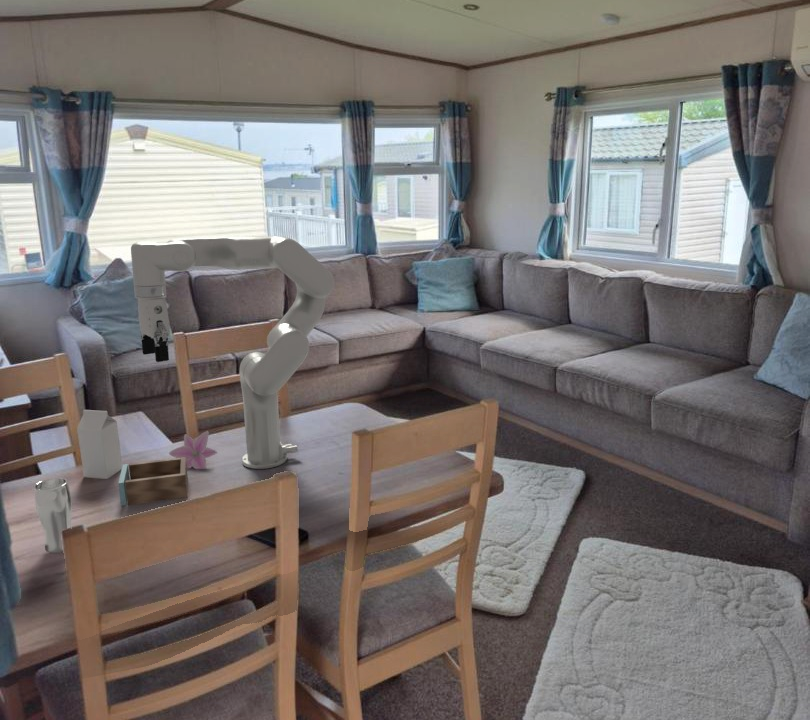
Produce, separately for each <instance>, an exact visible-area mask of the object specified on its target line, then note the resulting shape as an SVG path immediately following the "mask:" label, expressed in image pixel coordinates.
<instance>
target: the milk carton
mask: <svg viewBox="0 0 810 720" xmlns="http://www.w3.org/2000/svg"><path fill="white" fill-rule="evenodd" d="M82 412H83V414H82V416H81V419H80V421H79V422H78V426H77V427H76V430H77V431H76V432H77V437H78V443H79V444H78V445H79V451H80V457H81V465H82V472H83V477H84V478H91V479H103V480H107V479H110V478H111V477H112V476H114V475H116V474H117V473H118V472H121V470H122V466H123V460H122V452H121V445H120V437H119V436H120V435H119V429H118V421H117V420H116V419H114V418H113V417H112V416H110V415H109V414H108V411H107V410H91V409H83V411H82Z"/></svg>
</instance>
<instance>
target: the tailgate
mask: <svg viewBox="0 0 810 720" xmlns="http://www.w3.org/2000/svg"><path fill="white" fill-rule="evenodd" d="M125 480H130V472H129V463H126V464H124V463H122V469H121V470H120V475H119V479H118V483H117V484H118V491H119V497H120V504H121V505H120V506H121V507H122V506H128V502H127V494H126V486H125Z"/></svg>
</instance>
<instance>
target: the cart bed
mask: <svg viewBox="0 0 810 720" xmlns="http://www.w3.org/2000/svg"><path fill="white" fill-rule="evenodd" d="M128 469H129V477H130V480H125V486H126V494H127V506H130V505H131V506H132V505H139V504H140V505H141V504H146V503H153V502H155V503H156V502H163V501H169V500H175V499H177V500H178V499H184V498H188V497H189V496H188V494H189V491H188V488H189V487H188V486H189V484H188V483H189V479H188V478H189V477H188V468H187V466H186V457H180V458H175V457H173V458H166V459H165V458H163V459H156V460H149V461H139V462H132V463H131V462H129V463H128Z"/></svg>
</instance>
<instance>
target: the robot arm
mask: <svg viewBox="0 0 810 720" xmlns="http://www.w3.org/2000/svg"><path fill="white" fill-rule="evenodd" d="M130 254H131V256H130V257H131V269H132V279H133V291H134V299H136V300H137V313H138V324H139V331H140V332H141V334H140V339H141V349H142V354H143V355H151V354H154V355H155V361H156V363H160V362H167V361H169V360H170V358H169V357H170V356H169V341H168V340H169V336H170V335H171V327H170V319H169V318H170V317H169V311H168V305H167V301H166V298H167V288H166V287H167V286H166V275H165V274H166V273H165V271H169V272H177V273H178V272H181V273H182V272H187V271H190V270H191V269H192V268H194V267H214V268H216V267H217V268H222V269H226V270H233V271H235V270H237V271H243V270H245V271H246V270H259V269H260V270H262V269H263V270H264V269H279V270H280V271H281V272H283V274H285V275H286V277H288V278H289V279H290V280H291V281H292V282H293V283H294V284H295V288H296V296H295V300H294V301H293V303H292V305H291V306H290V307H289V308H288V310H287V312H286V313H285V314H284V315H283V316H282V318H281V319H279V321H278V322H277V323H276V325H274V326H273V327H272V329H271V330H270V331H269V333H268V335H267V336H266V337H267V338H266V344H267V347H268V350H267V351H266V352H265V353H264V352H260V351H254V352H250V353H249V354H246V355H245V356H244V357H243V359H242V360H241V361H240V364H239V370H238V371H239V381H240V387H241V392H242V402H243V404H242V405H243V417H244V431H245V441H246V443H245V444H246V453H245V454H244V455H242V457H241V463H242V465H243V466H245V467H247V468H250V469H254V470H255V469H256V470H257V469H258V470H263V469H264V470H265V469H272V468H274V467H275V468H276V467H279V466H281V465H283V464H285V462H286V461H287V458H288V455H287V454H289V453H291V454H293V453H299V451H298V446H297V445H292V443H288V444H285V443H282V441H281V430H280V417H279V416H280V413H279V397H278V391H279V390H281V388H283V387H284V385H285V384H287V382H288V381H289V380H290V378H291V377H292V376H293V375H294V374H295V373H296V372H297V371H298V369H299V367H300V366H302V364H303V363H304V361H305V360H306V358H307V356H308V355H309V352H310V341H309V339H308V336H309V335H310V334H311V333H312V330H313V329H314V328H315V327H316V326H317V324H318V323H319V322H320V320H321V318H322V316H323V314H324V310H325V308H326V297H328V296H330V294H332V292H333V291H334V288H335V278H334V276H333V275H334V274H332V273H331V271H330V270H329V269H328V268H327V267H326V266H325V265H324V264H322V263H321V262H320V261H319V260H318V259H317V258H316V257H314V256H313V255H312V254H311V253H310V252H308V250H307V249H306V248H304V247H303V246H302V245H301V244H300V243H299V242H298V241H297V240H295V239H293V238H290V237H286V236H282V235H281V236H280V235H279V236H278V235H270V236H269V235H268V236H264V235H263V236H231V237H230V236H229V237H228V236H227V237H211V238H209V237H207V238H206V237H205V238H204V237H200V238H199V237H198V238H197V237H196V238H175V239H170V240H168V241H167V242H165V243H159V242H156V241H139V242H134V243H132V245H131V247H130Z"/></svg>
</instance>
